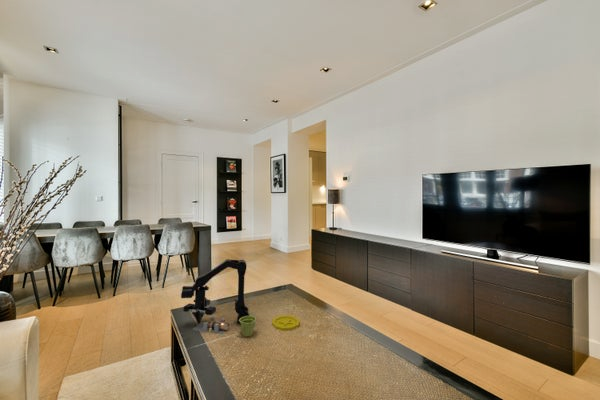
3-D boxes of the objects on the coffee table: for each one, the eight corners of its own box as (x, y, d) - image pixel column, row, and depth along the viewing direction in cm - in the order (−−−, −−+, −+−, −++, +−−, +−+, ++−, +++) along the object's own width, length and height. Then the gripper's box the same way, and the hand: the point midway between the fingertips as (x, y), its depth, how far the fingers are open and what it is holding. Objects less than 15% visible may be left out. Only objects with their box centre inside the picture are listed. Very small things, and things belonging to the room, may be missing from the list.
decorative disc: (300, 319, 175) (300, 316, 175) (297, 332, 157) (297, 329, 157) (275, 317, 177) (275, 314, 177) (269, 330, 159) (269, 327, 159)
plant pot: (235, 335, 152) (235, 320, 151) (246, 328, 160) (246, 314, 160) (248, 340, 147) (248, 324, 147) (258, 332, 155) (259, 318, 155)
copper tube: (229, 328, 157) (229, 321, 157) (226, 331, 153) (226, 324, 153) (211, 326, 160) (211, 319, 160) (207, 329, 156) (207, 322, 156)
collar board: (231, 328, 160) (231, 318, 160) (223, 336, 150) (223, 326, 150) (201, 323, 164) (201, 314, 164) (191, 331, 155) (192, 322, 155)
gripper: (221, 294, 165) (220, 319, 165) (194, 291, 169) (193, 315, 169) (211, 301, 154) (210, 328, 154) (183, 297, 158) (182, 323, 158)
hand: (199, 323), depth 159 cm, fingers closed
